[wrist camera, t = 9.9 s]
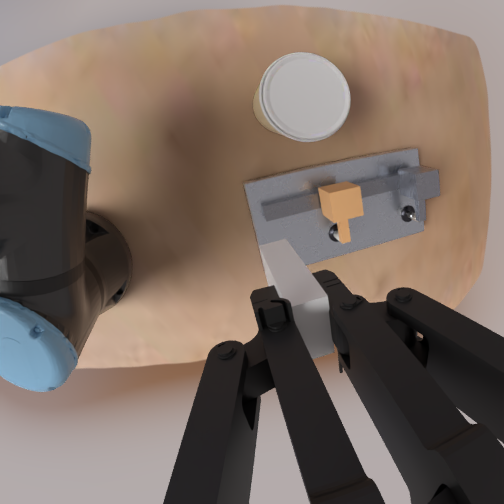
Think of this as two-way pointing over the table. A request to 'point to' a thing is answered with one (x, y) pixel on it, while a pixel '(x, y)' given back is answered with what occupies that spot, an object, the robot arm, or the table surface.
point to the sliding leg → (341, 206)
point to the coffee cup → (302, 97)
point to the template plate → (361, 228)
